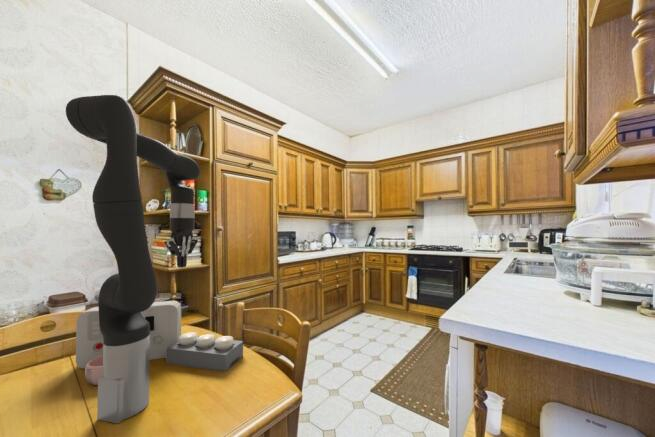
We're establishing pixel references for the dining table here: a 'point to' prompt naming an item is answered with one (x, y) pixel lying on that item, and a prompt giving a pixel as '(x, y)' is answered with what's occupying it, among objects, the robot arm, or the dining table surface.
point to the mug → (94, 370)
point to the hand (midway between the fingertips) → (181, 267)
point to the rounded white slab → (158, 315)
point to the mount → (204, 356)
